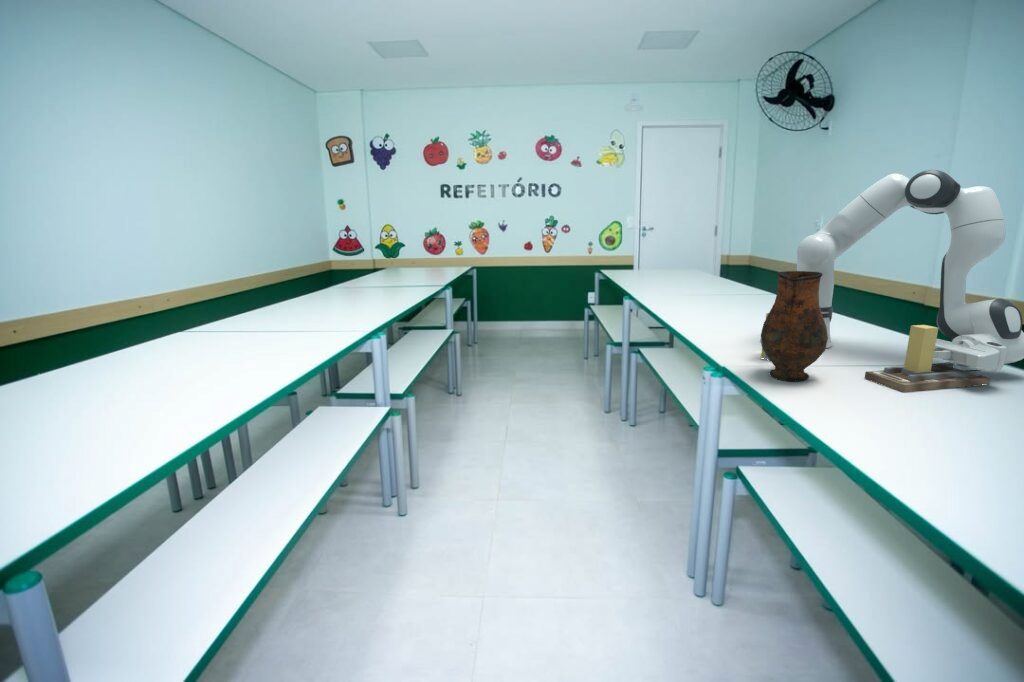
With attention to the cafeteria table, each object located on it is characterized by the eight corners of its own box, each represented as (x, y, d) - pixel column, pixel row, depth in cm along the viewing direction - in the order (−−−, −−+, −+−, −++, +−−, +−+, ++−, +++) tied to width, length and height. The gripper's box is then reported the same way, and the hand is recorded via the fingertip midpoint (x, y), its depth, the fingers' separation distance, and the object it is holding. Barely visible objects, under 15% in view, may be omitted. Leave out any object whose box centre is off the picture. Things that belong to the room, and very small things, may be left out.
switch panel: (944, 371, 143) (946, 360, 142) (988, 384, 132) (991, 372, 131) (864, 378, 140) (866, 366, 139) (903, 392, 128) (905, 379, 127)
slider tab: (916, 372, 137) (924, 324, 134) (932, 376, 133) (940, 327, 130) (900, 373, 137) (908, 325, 133) (915, 378, 132) (924, 328, 129)
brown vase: (750, 378, 142) (759, 274, 135) (768, 361, 158) (777, 267, 151) (816, 389, 132) (830, 276, 125) (829, 370, 148) (842, 269, 141)
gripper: (935, 331, 145) (893, 334, 143) (1013, 348, 125) (966, 352, 123) (931, 352, 146) (890, 355, 145) (1008, 372, 127) (962, 376, 125)
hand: (926, 353), depth 134 cm, fingers closed, pressing on slider tab
